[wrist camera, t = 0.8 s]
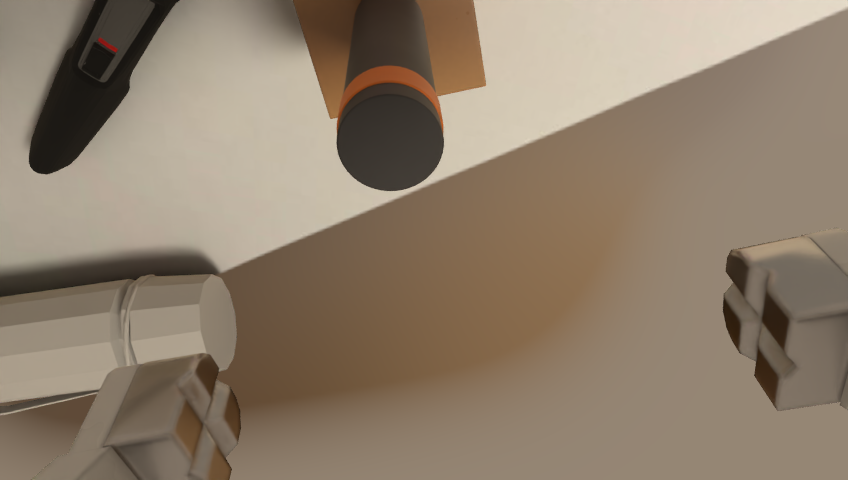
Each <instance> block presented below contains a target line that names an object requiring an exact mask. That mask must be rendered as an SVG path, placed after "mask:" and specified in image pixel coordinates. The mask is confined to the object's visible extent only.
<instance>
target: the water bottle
mask: <svg viewBox="0 0 848 480" xmlns="http://www.w3.org/2000/svg"><path fill="white" fill-rule="evenodd" d="M236 338H237V336H236V320H235V311H234V308H233V304H232V300H231V296H230V293H229V291H228V289H227V287H226V285H225V284H224V282H223V280H222V278H220V277H218V276H215V275H213V274H203V275H180V276H155V275H154V274H151V275H146V276H141V277H139V278H138V279H137V280H136V281H135V280H132V279H126V280H118V281H111V282H104V283H97V284H90V285H83V286H76V287H69V288H62V289H54V290H47V291H40V292H33V293H26V294H19V295H12V296H5V297H0V403H1V402H10V401H17V400H24V399H32V398H39V397H46V396H51V397H46V398H42V399H37V400H33V401H29V402H24V403H20V404H15V405H10V406H0V415H6V414H10V413H14V412H19V411H23V410H27V409H32V408H35V407H40V406H45V405H49V404H53V403H58V402H62V401H66V400H70V399H75V398H79V397H83V396H87V395H92V394H96V393H98V392H99V390H100V388H101V386H102V384H103V382H104V380H105V378H106V376H107V374H108V373H110V372H111V371H112V370H114V369H115V368H119V367H125V366H131V365H137V364H144V363H145V362H150V361H156V360H162V359H168V358H174V357H180V356H186V355H192V354H198V353H206V354H210V355H211V356H212V358H213V359H214V361H215V362H216V364H217V365H218V367H219V371H222V370H226V369H227V368H228V366H229V365H230V363H231V361H232V360H233V358H234V352H235V345H236ZM54 395H55V396H54Z"/></svg>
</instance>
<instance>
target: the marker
mask: <svg viewBox="0 0 848 480" xmlns="http://www.w3.org/2000/svg"><path fill="white" fill-rule="evenodd" d="M443 147H444V138H443V120H442V115H441V109H440V104H439V100H438V97H437V95H436V90H435V84H434V79H433V73H432V67H431V61H430V55H429V49H428V43H427V38H426V32H425V26H424V20H423V15H422V11H421V9H420V7H419V5H418V3H417V2H416V1H415V0H362V1H361V2H360V4H359V6H358V8H357V10H356V13H355V18H354V25H353V32H352V38H351V45H350V52H349V59H348V65H347V72H346V79H345V86H344V92H343V96H342V99H341V102H340V107H339V114H338V120H337V150H338V154H339V157H340V160H341V162H342V164H343V166H344V167H345V169H346V170H347V171H348V172H349V173H350V174H351V175H352V176H353V177H354V178H355V179H356V180H358V181H359V182H361V183H362V184H364V185H366V186H368V187H371V188H374V189H378V190H384V191H397V190H403V189H407V188H410V187H413V186H415V185H417V184H419V183H421V182H422V181H423V180H425V179H426V178H427V177H428V176H429V175H430V174H431V173H432V172H433V171H434V170H435V168H436V167H437V165H438V163H439V161H440V159H441V156H442V153H443Z"/></svg>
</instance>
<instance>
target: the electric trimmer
mask: <svg viewBox="0 0 848 480" xmlns="http://www.w3.org/2000/svg"><path fill="white" fill-rule="evenodd" d="M178 1H179V0H95V2H94V4H93V7H92V9H91V11H90V13H89V15H88V17H87V20H86V22H85V24H84V26H83V28H82V30H81V33H80V34H79V36H78V38H77V39H76V41H75V43H74V44H73V46H72V47H71V48H70V49H69V50H67V52H66V54H65V56H64V58H63V61H62V63H61V65H60V68H59V70H58V72H57V74H56V77H55V79H54V82H53V85H52V87H51V90H50V92H49V95H48V97H47V100H46V102H45V105H44V107H43V110H42V113H41V115H40V118H39V120H38V123H37V125H36V128H35V131H34V134H33V137H32V141H31V146H30V153H29V164H30V167H31V168H32V169H33V170H34V171H35V172H37V173H40V174H50V173H53V172H56V171H58V170H60V169H62V168H64V167H66V166H68V165H70V164H71V163H72V162H73V161H74V160H75V159H76V158H77V157H78V156H79V155H80V153H81V152H82V151H83V150H84V149H85V147H86V146H87V145H88V144H89V142H90V141H91V140H92V138H93V137H94V136H95V135H96V133H97V132H98V131H99V130H100V128H101V127H102V126H103V125H104V123H105V122H106V121H107V120H108V118H109V117H110V116H111V115H112V113H113V112H114V111H115V109H116V108H117V107H118V106H119V104H120V103H121V101H122V100H123V99H124V97H125V96H126V94H127V93H128V91H129V88H130V86H129V80H130V77H131V74H132V71H133V69H134V68H135V66H136V64H137V63H138V61H139V59H140V58H141V56H142V54H143V53H144V51H145V49H146V48H147V46H148V45H149V43H150V41H151V40H152V38H153V36H154V35H155V33H156V31H157V30H158V28H159V27H160V25H161V24H162V22H163V21H164V19H165V18H166V16H167V15H168V13H169V12H170V10H171V9H172V7H173V6H174V5H175V4H176V3H177V2H178Z"/></svg>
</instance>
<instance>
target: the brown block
mask: <svg viewBox="0 0 848 480" xmlns="http://www.w3.org/2000/svg"><path fill="white" fill-rule="evenodd" d="M361 1H362V0H293V2H294V5H295V8H296V12H297V15H298V18H299V21H300V24H301V27H302V31H303V34H304V37H305V40H306V43H307V47H308V50H309V53H310V56H311V59H312V62H313V66H314V69H315V72H316V75H317V78H318V81H319V85H320V88H321V91H322V94H323V97H324V101H325V104H326V107H327V110H328V113H329V116H330V118H331V119H333V118H337V117H338V114H339V107H340V102H341V99H342V96H343V92H344V86H345V79H346V72H347V65H348V59H349V52H350V45H351V38H352V32H353V25H354V18H355V13H356V10H357V8H358V6H359V4H360V2H361ZM415 1H416V2H417V3H418V5H419V7H420V9H421V11H422V15H423V20H424V26H425V32H426V38H427V43H428V49H429V55H430V61H431V67H432V73H433V79H434V84H435V90H436V95H437V96H441V95H445V94H450V93H455V92H459V91H464V90H469V89H474V88H478V87H483V86H486V81H485V74H484V67H483V61H482V54H481V48H480V41H479V35H478V28H477V21H476V15H475V8H474V2H473V0H415Z"/></svg>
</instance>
